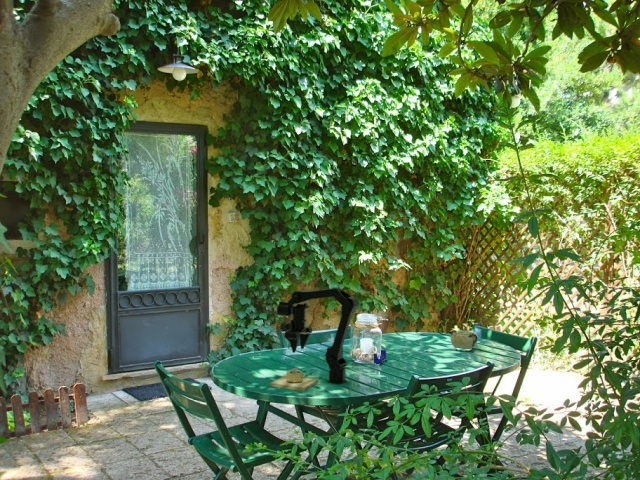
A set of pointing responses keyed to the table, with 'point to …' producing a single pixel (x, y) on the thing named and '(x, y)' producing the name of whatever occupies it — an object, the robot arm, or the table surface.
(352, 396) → the table surface
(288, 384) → the stand
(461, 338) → the sugar bowl
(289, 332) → the robot arm
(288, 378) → the ring
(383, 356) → the cable clip
